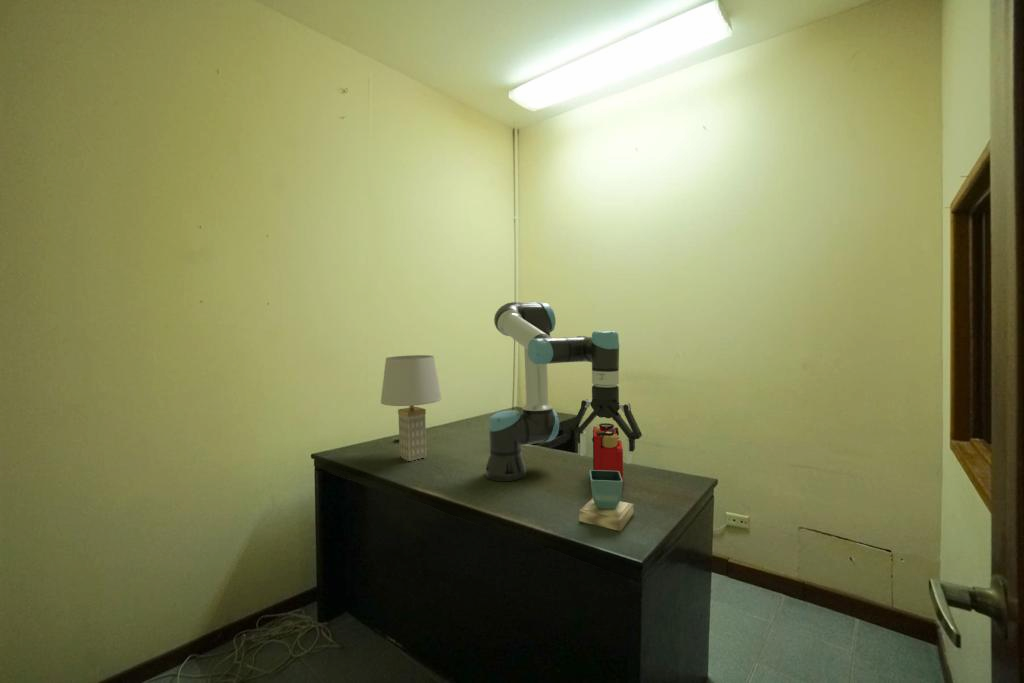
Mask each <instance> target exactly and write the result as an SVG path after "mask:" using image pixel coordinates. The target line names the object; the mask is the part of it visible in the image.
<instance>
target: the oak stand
mask: <svg viewBox="0 0 1024 683" xmlns="http://www.w3.org/2000/svg"><path fill="white" fill-rule="evenodd" d="M634 510H635V508H634V503H630V502H625V501H621V500H620V502H619V504H618V506H617V507H616V509H599V508H597V507H596V505H595V503H594V500H593V497H592V498H591V499H590V500H589V501H587V503H586V504H585V505H584V506H582V508H580V509H579V511H578V517H579V518H578V521H579V522H582V523H586V524H590V525H592V526H593V525H594V526H597V527H602V528H606V529H611V530H614V531H619V532H622V531H623V529H624V527H626V524H628V522H629V521H630V519H631V518H632V517H633V515H634V512H635V511H634Z"/></svg>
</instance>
